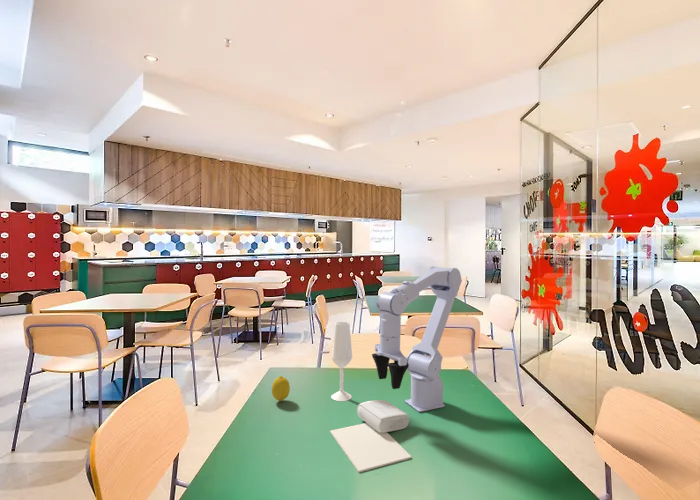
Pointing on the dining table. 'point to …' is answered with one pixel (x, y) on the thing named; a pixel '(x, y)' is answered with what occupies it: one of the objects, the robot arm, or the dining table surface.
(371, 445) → the mat
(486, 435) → the dining table surface
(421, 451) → the dining table surface
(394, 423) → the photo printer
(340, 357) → the champagne flute
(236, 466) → the dining table surface
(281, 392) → the lemon
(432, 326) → the robot arm
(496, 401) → the dining table surface
